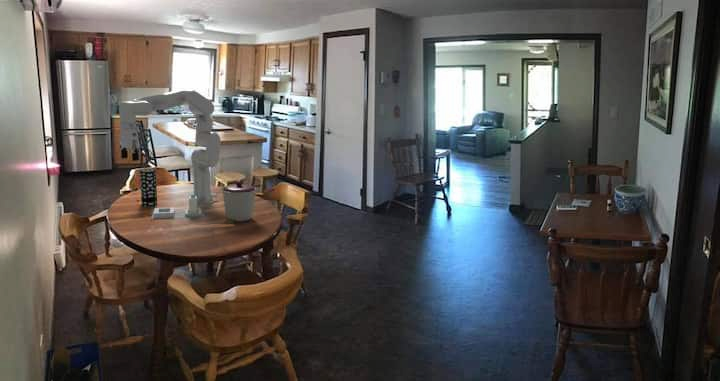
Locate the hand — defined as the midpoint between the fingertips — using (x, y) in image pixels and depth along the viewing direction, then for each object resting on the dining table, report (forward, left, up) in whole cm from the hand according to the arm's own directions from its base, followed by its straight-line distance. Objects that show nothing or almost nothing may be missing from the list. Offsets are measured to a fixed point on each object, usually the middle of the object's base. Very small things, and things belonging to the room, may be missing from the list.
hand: (130, 159), depth 273 cm
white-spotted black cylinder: (-19, -16, -31) cm, 40 cm away
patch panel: (-16, +17, -31) cm, 38 cm away
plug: (-22, +21, -29) cm, 42 cm away
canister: (-36, +42, -31) cm, 63 cm away
